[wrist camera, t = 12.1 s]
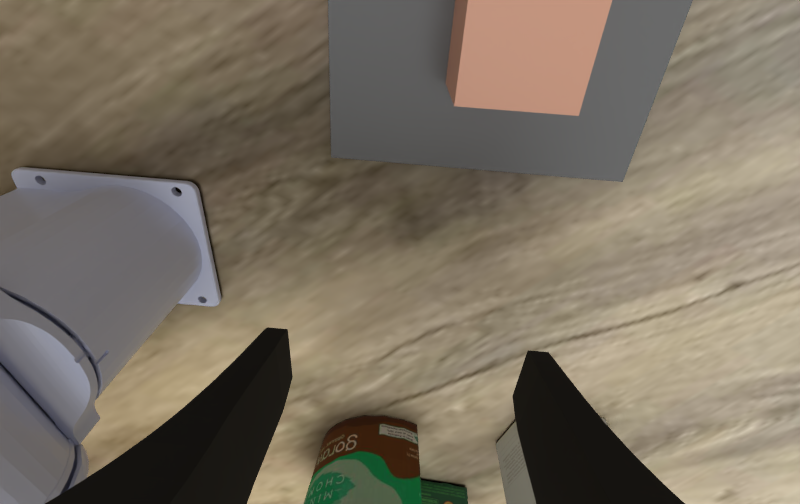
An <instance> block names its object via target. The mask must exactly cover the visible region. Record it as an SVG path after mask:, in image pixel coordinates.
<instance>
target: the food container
mask: <svg viewBox="0 0 800 504" xmlns="http://www.w3.org/2000/svg"><path fill="white" fill-rule="evenodd" d="M304 504H422V496H421V481H420V465H419V450H418V434H417V425H415V424H413V423H410V422H408V421H406V420H403V419H398V418H393V417H388V416H360V417H355V418H351V419H346V420H344V421H342V422H340V423H338V424H336V425H335V426H334V427H332V428H331V429H330V430H329V431H328V432H327V434H326V436H325V438H324V440H323V443H322V447H321V450H320V453H319V456H318V459H317V463H316V466H315V469H314V472H313V476H312V479H311V482H310V485H309V488H308V492H307V495H306V498H305V501H304Z"/></svg>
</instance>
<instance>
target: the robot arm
mask: <svg viewBox="0 0 800 504" xmlns="http://www.w3.org/2000/svg"><path fill="white" fill-rule="evenodd" d="M11 175H12V179H13V181H14V183H15V185H16V187H17V189H16V190H13V191H11V192H8V193H6V194H4V195H1V196H0V504H247V501H248V498H249V496H250V493H251V490H252V487H253V485H254V482H255V480H256V477H257V475H258V472H259V470H260V467H261V465H262V462H263V460H264V457H265V455H266V452H267V450H268V447H269V445H270V442H271V440H272V437H273V435H274V432H275V430H276V427H277V425H278V422H279V420H280V417H281V415H282V412H283V409H284V406H285V402H286V399H287V395H288V392H289V388H290V384H291V380H292V368H291V358H290V348H289V339H288V329H278V328H266V329H265V330H264V331H263V332H262V333H261V334H260V335H259V336H258V337H257V338H256V339H255V340H254V341H253V342H252V343H251V344H250V345H249V346H248V347H247V348H246V350H245V351H244V352H243V353H242V354H241V355H240V356H239V357H238V358H237V359H236V360H235V361H234V362H233V363H232V364H231V365H230V366H229V367H228V368H226V369H225V370H224V371H223V372H222V373H221V374H220V375H219V376H218V377H217V378H216V379H215V380H214V381H213V382H212V383H211V384H210V385H209V386H208V387H206V388H205V389H204V390H203V391H202V392H201V393H200V394H199V395H197V396H196V397H195V398H194V399H193V400H192V401H191V402H189V403H188V404H187V405H186V406H185V407H184V408H183V409H181V410H180V411H179V412H178V413H177V414H175V415H174V416H173V417H172V418H170V419H169V420H168V421H167V422H165V423H164V424H163V425H162V426H160V427H159V428H158V429H156V430H155V431H154V432H152V433H151V434H150V435H149V436H147V437H146V438H144V439H143V440H142V441H140V442H139V443H138V444H136V445H135V446H133V447H132V448H131V449H129V450H128V451H126V452H125V453H124V454H122V455H121V456H119V457H118V458H116V459H115V460H114V461H112V462H111V463H109V464H108V465H106V466H105V467H103V468H102V469H100V470H99V471H97V472H95V473H94V474H92V475H91V476H89V477H87V474H88V465H89V460H88V456H87V452H86V450H85V448H84V447H83V445H82V444H81V442H82V441H83V439H84V438H85V437H86V436H87V434H88V433H89V432H90V431H91V429H92V428H93V427H94V426H95V424H96V423H97V422H98V421H99V419H100V416H99V415H98V413H97V412H96V409H95V406H94V403H95V400H96V399H97V398H98V397H99V395H100V394H101V393H102V392H103V391H104V390H105V388H106V387H107V386H108V385H109V384H110V382H111V381H112V380H113V379H114V378H115V377H116V375H117V374H118V373H119V372H120V371H121V369H122V368H123V367H124V366H125V365H126V364H127V362H128V361H129V360H130V359H131V358H132V356H133V355H134V354H135V353H136V352H137V351H138V349H139V348H140V347H141V346H142V345H143V343H144V342H145V341H146V340H147V339H148V338H149V336H150V335H151V334H152V333H153V332H154V330H155V329H156V328H157V327H158V326H159V325H160V323H161V322H162V321H163V320H164V319H165V318H166V316H167V315H168V314H169V313H170V312H171V310H172V309H173V308H174V307H175V306H176V305H177V304H189V305H200V306H212V307H213V306H217V305H218V304H219V303H220V301H221V294H220V289H219V284H218V279H217V274H216V269H215V265H214V260H213V255H212V250H211V245H210V240H209V236H208V231H207V226H206V221H205V216H204V211H203V207H202V202H201V197H200V192H199V189H198V187H197V186H196V185H195V184H194V183H192V182H189V181H181V180H170V179H158V178H146V177H134V176H122V175H110V174H98V173H87V172H75V171H63V170H51V169H39V168H27V167H20V168H17V169H14V170H13V171H12V173H11ZM42 177H43V178H44V179H45V181H44V180H43V178H42ZM175 187H177V188H179V189H180V190H181V192H182V194H181V193H178V192H177V191H176V189H175ZM202 297H205V298H206V299H204V298H202ZM513 403H514V411H515V418H516V425H517V431H518V435H519V439H520V443H521V447H522V451H523V455H524V459H525V463H526V466H527V470H528V474H529V478H530V482H531V485H532V489H533V493H534V497H535V501H536V504H685V503H684V502H682V501H681V500H680V499H679V498H678V497H677V496H676V495H675V494H674V493H673V492H671V491H670V490H669V489H668V488H667V487H666V486H665V485H664V484H663V483H662V482H661V481H660V480H659V479H658V478H657V477H656V476H655V475H654V474H653V473H652V472H651V471H650V470H649V469H648V468H647V467H646V466H645V465H644V464H642V463H641V461H640V460H639V459H638V458H637V457H636V456H635V455H634V454H633V453H632V452H631V451H630V450H629V449H628V448H627V447H626V446H625V445H624V444H623V442H622V441H621V440H620V439H619V438H618V437H617V436H616V435H615V434H614V433H613V431H612V430H611V429H610V428H609V427H608V426H607V425H606V424H605V422H604V421H603V420H602V419H601V418H600V416H599V415H598V414H597V413H596V412H595V410H594V409H593V408H592V407H591V406H590V404H589V403H588V402H587V401H586V400H585V398H584V397H583V396H582V395H581V393H580V392H579V391H578V390H577V388H576V387H575V386H574V384H573V383H572V382H571V381H570V379H569V378H568V377H567V376H566V374H565V373H564V372H563V370H562V369H561V368H560V367H559V365H558V364H557V363H556V361H555V360H554V359H553V358H552V356H551V355H550V354H549V353H548V352H539V351H528V352H527V355H526V358H525V361H524V364H523V367H522V370H521V373H520V376H519V379H518V382H517V385H516V388H515V391H514V394H513Z"/></svg>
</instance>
